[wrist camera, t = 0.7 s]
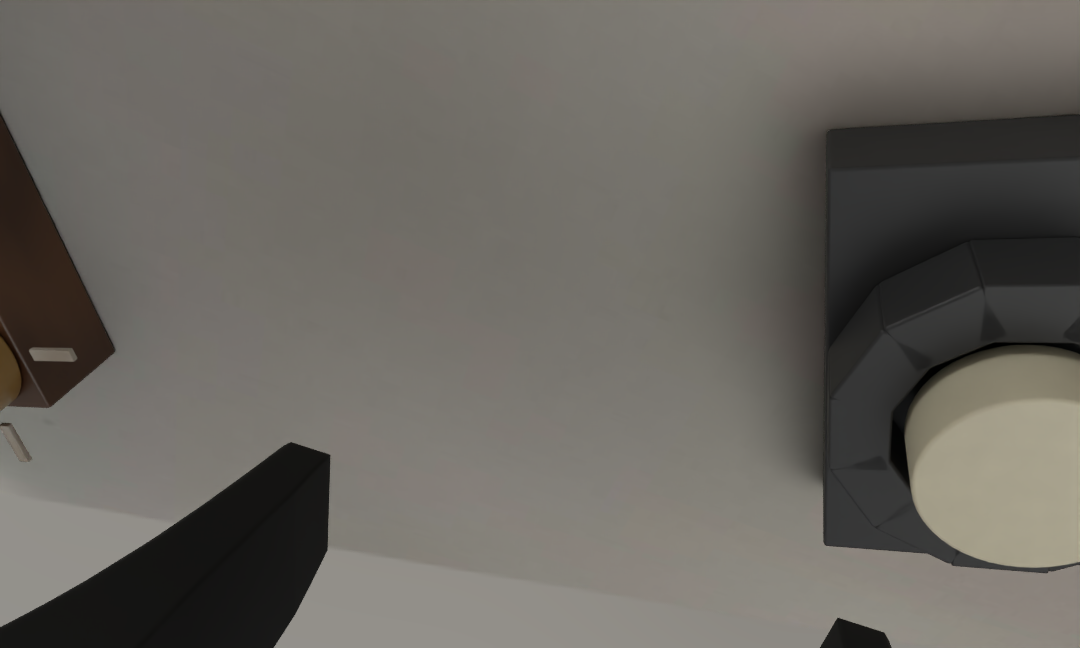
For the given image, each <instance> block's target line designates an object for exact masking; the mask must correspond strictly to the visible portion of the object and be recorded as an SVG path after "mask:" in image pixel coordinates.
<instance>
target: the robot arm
mask: <svg viewBox="0 0 1080 648" xmlns="http://www.w3.org/2000/svg"><path fill="white" fill-rule="evenodd" d="M329 483H330V455H329V454H326V453H323V452H320V451H317V450H314V449H310V448H307V447H304V446H301V445H298V444H295V443H292V442H290V443H288V444H286V445H284V446H283V447H281V448H280V449H279V450H277V451H276V452H275V453H273V454H272V455H271V456H269V457H268V458H267V459H265V460H264V461H263V462H261V463H260V464H259V465H257V466H256V467H254V468H253V469H252V470H250V471H249V472H248V473H246V474H245V475H244V476H242V477H241V478H240V479H238V480H237V481H236V482H234V483H233V484H231V485H230V486H229V487H227V488H226V489H224V490H223V491H222V492H220V493H219V494H217V495H216V496H215V497H213V498H212V499H211V500H209V501H208V502H206V503H205V504H203V505H202V506H201V507H199V508H198V509H196V510H195V511H193V512H192V513H190V514H189V515H187V516H186V517H184V518H183V519H182V520H180V521H179V522H177V523H176V524H174V525H173V526H171V527H170V528H168V529H167V530H166V531H164V532H162V533H161V534H160V535H158V536H157V537H155V538H154V539H152V540H150V541H149V542H147V543H146V544H144V545H143V546H141V547H139V548H138V549H136V550H135V551H133V552H132V553H130V554H128V555H127V556H125V557H123V558H122V559H120V560H119V561H117V562H115V563H114V564H112V565H111V566H109V567H108V568H106V569H104V570H102V571H101V572H99V573H98V574H96V575H94V576H93V577H91V578H89V579H88V580H86V581H84V582H83V583H81V584H79V585H77V586H76V587H74V588H72V589H70V590H69V591H67V592H65V593H63V594H62V595H60V596H58V597H56V598H54V599H53V600H51V601H49V602H47V603H45V604H44V605H42V606H40V607H38V608H36V609H34V610H32V611H30V612H29V613H27V614H25V615H23V616H21V617H19V618H17V619H15V620H13V621H12V622H10V623H8V624H6V625H4V626H2V627H0V648H274V646H275V645H276V643H277V642H278V640H279V638H280V637H281V635H282V634H283V632H284V631H285V629H286V628H287V626H288V625H289V623H290V621H291V620H292V618H293V617H294V615H295V613H296V612H297V610H298V608H299V605H300V604H301V602H302V600H303V598H304V596H305V594H306V592H307V590H308V588H309V586H310V584H311V582H312V580H313V578H314V576H315V574H316V572H317V570H318V568H319V566H320V564H321V562H322V560H323V558H324V556H325V554H326V552H327V548H328V516H329ZM820 648H891V645H890V642H889V640H888V638H887V637H886V635H885V633H884V632H881V631H877V630H874V629H871V628H868V627H865V626H862V625H859V624H856V623H853V622H849V621H846V620H843V619H840V618H837V620H836V621H835V623H834V625H833V626H832V628H831V630H830V632H829V633H828V635H827V637H826V639H825V640H824V642H823V644H822V645H821V647H820Z"/></svg>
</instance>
